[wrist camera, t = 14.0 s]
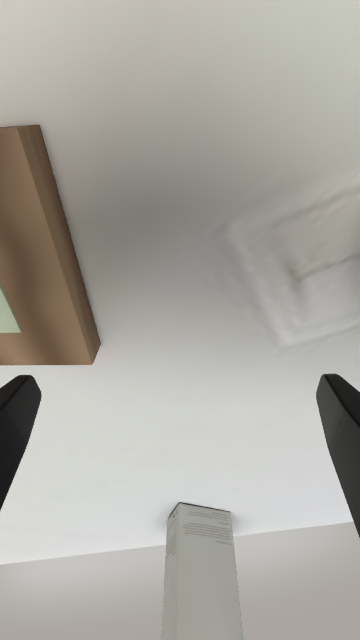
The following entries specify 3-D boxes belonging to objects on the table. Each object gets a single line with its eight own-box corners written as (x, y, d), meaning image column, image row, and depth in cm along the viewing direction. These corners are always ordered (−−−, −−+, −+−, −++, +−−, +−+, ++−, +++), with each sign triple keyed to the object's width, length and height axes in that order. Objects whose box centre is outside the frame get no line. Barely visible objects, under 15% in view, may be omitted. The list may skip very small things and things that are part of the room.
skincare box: (166, 517, 46) (154, 673, 34) (179, 499, 43) (170, 667, 30) (217, 527, 47) (223, 681, 35) (234, 511, 44) (248, 676, 31)
